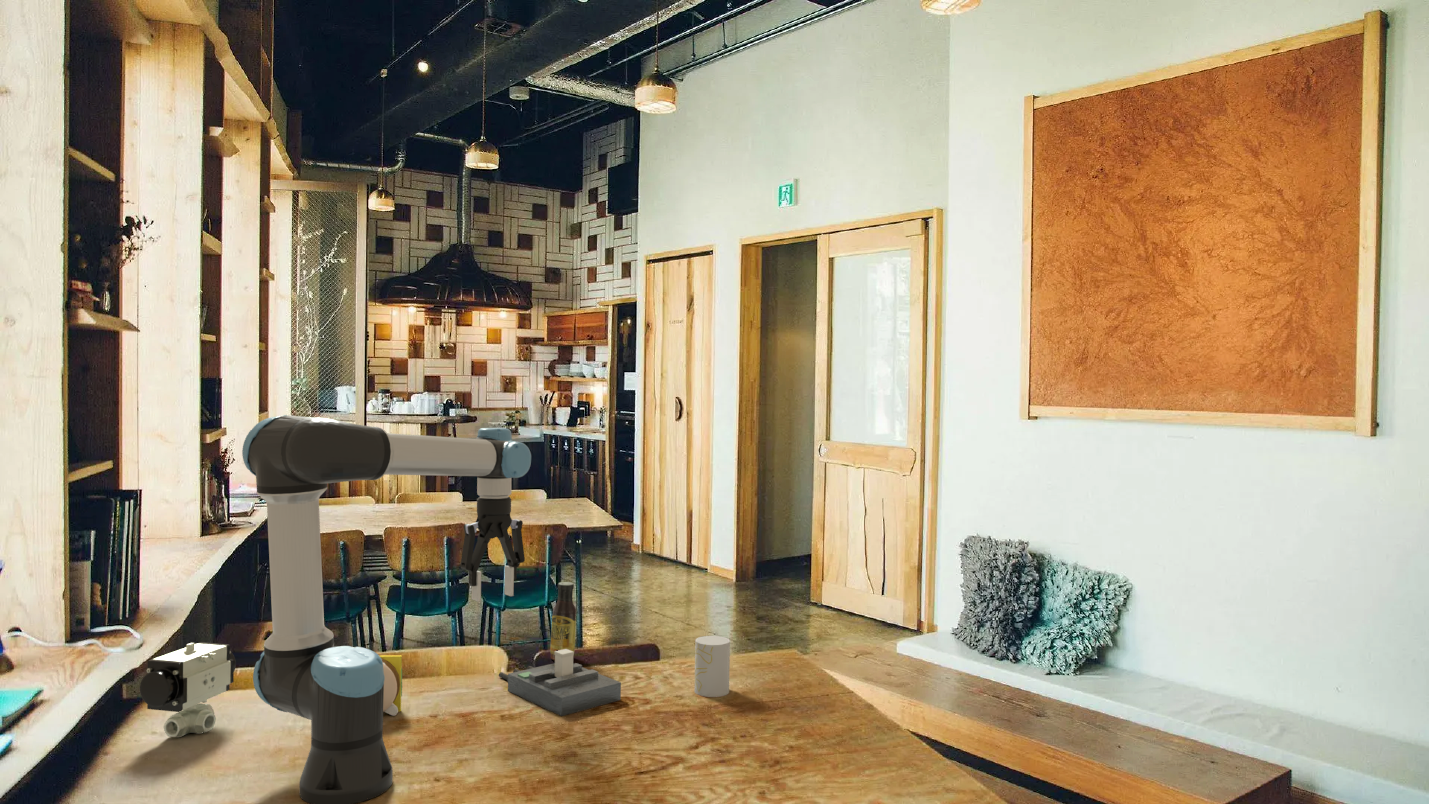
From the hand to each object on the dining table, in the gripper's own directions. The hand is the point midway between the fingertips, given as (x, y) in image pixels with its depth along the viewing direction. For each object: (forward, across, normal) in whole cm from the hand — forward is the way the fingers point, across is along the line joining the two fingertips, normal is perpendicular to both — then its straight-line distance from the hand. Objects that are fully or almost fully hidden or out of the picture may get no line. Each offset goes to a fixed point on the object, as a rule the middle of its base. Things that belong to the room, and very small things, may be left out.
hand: (492, 597), depth 206 cm
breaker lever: (+19, -14, +8) cm, 25 cm away
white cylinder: (+23, -42, +28) cm, 56 cm away
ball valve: (+23, +55, -22) cm, 64 cm away
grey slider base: (+23, -14, +3) cm, 27 cm away
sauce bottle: (+23, -30, -16) cm, 41 cm away
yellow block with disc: (+23, +24, -9) cm, 35 cm away
